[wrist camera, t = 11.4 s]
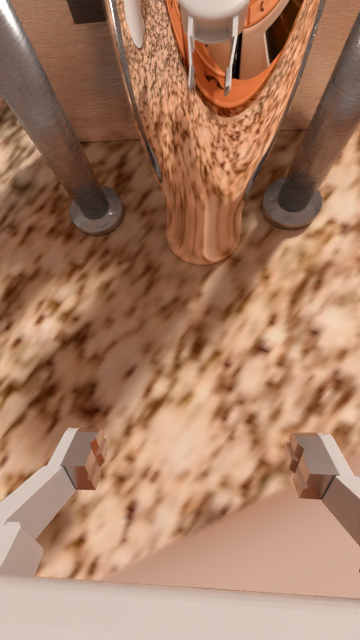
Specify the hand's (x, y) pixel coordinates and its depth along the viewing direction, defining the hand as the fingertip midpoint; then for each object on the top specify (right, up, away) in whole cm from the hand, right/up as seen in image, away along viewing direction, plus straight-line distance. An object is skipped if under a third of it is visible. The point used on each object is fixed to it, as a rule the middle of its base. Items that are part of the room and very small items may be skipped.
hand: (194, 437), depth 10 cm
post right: (+8, +15, +9) cm, 19 cm away
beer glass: (+1, +12, +9) cm, 15 cm away
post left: (-8, +14, +10) cm, 19 cm away
